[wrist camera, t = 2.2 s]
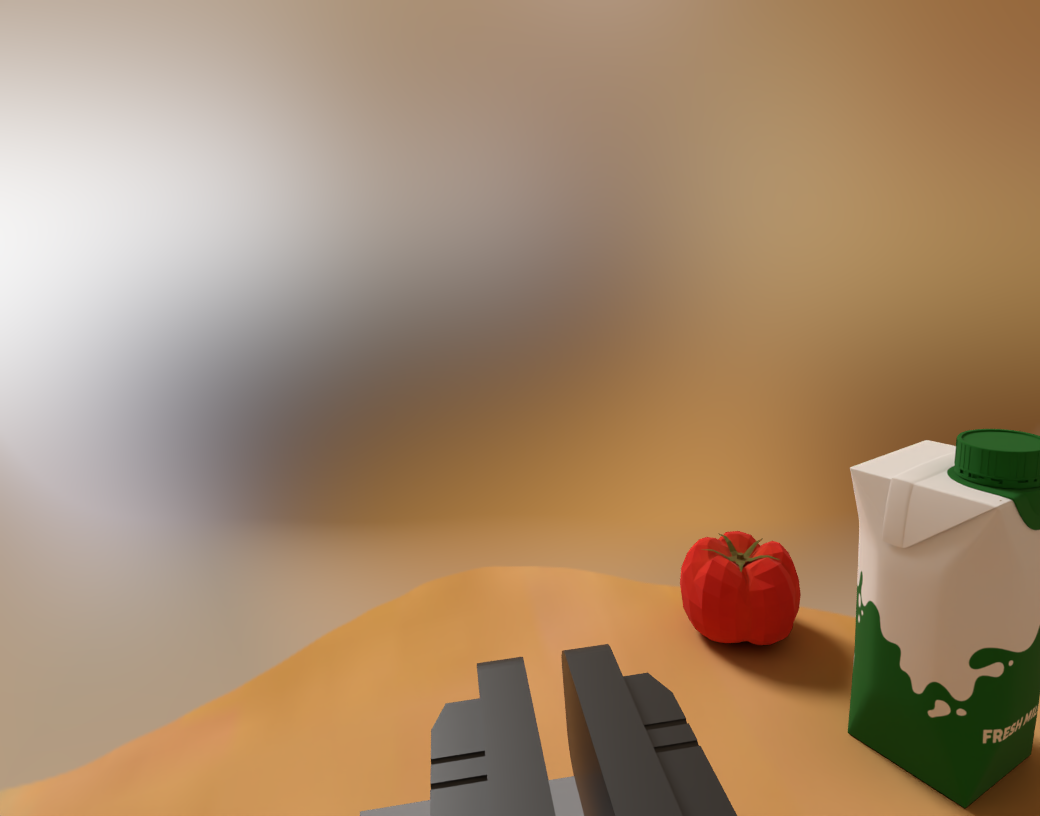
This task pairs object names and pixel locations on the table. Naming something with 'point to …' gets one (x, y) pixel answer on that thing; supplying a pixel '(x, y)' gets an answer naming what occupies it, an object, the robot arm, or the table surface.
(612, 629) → the table surface
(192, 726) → the table surface
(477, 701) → the robot arm
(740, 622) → the tomato
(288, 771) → the table surface
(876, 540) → the milk carton
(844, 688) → the table surface
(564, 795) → the mat
